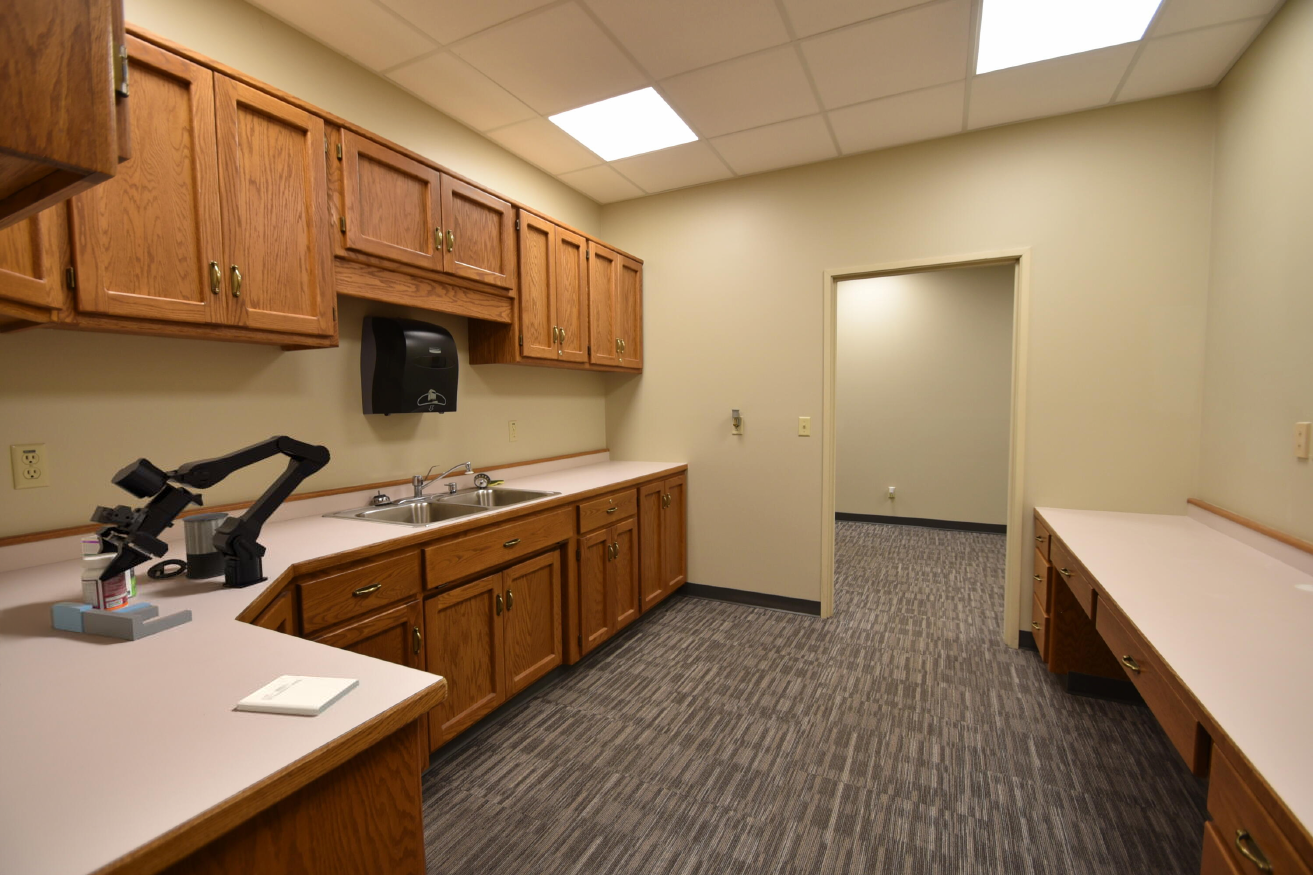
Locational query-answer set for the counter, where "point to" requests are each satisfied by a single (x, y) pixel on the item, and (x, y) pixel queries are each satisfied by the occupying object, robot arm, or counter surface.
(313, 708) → the external hard drive
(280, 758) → the counter surface
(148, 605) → the divider rack
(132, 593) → the syrup box
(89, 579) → the pill bottle
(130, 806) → the counter surface
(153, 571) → the milk frother
